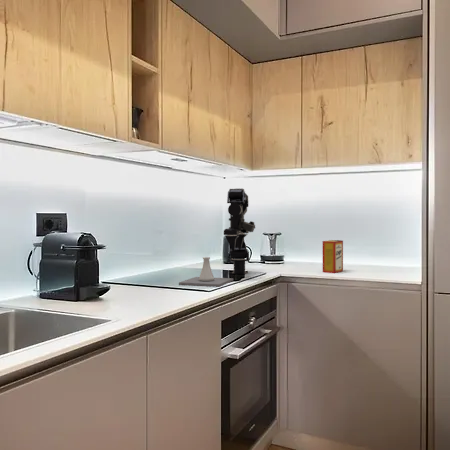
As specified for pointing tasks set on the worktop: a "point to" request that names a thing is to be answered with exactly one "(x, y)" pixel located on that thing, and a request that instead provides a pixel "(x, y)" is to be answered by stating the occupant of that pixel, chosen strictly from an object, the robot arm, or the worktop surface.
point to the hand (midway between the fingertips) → (236, 250)
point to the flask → (206, 271)
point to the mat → (206, 282)
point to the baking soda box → (333, 256)
